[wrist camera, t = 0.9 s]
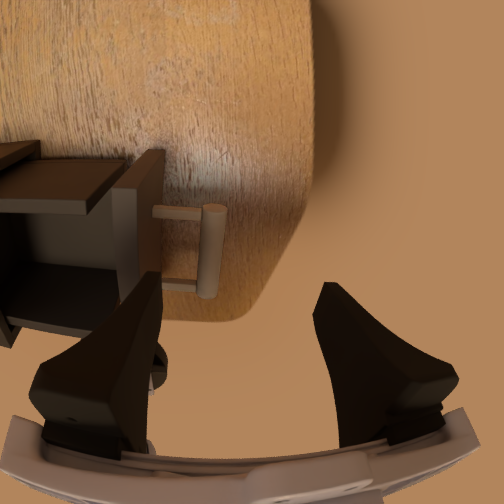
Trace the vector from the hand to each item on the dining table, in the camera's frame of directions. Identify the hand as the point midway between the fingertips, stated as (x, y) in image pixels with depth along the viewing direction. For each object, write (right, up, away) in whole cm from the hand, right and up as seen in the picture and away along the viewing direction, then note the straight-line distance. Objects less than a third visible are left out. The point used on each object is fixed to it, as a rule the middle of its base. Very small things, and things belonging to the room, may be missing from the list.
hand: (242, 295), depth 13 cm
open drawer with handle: (-11, +4, +7) cm, 13 cm away
